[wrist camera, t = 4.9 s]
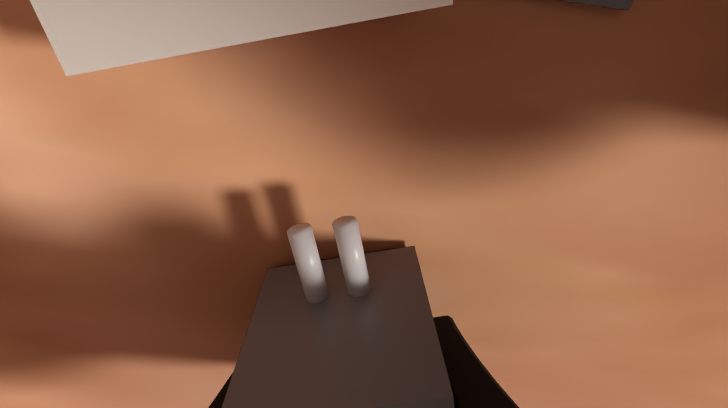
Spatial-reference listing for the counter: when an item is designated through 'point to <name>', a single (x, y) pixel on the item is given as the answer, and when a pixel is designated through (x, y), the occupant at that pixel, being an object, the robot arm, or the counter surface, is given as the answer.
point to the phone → (605, 3)
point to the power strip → (190, 25)
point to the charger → (341, 332)
